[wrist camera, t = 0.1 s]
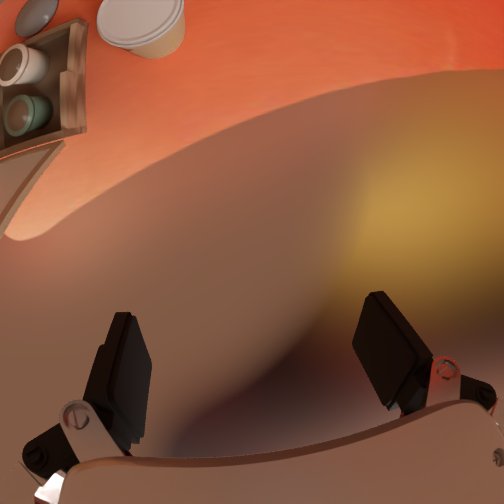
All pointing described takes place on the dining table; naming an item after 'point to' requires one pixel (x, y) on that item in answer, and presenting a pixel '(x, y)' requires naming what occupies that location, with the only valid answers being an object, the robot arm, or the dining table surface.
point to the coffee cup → (142, 26)
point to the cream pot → (23, 65)
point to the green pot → (27, 114)
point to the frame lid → (22, 177)
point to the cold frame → (53, 87)
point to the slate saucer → (35, 17)
